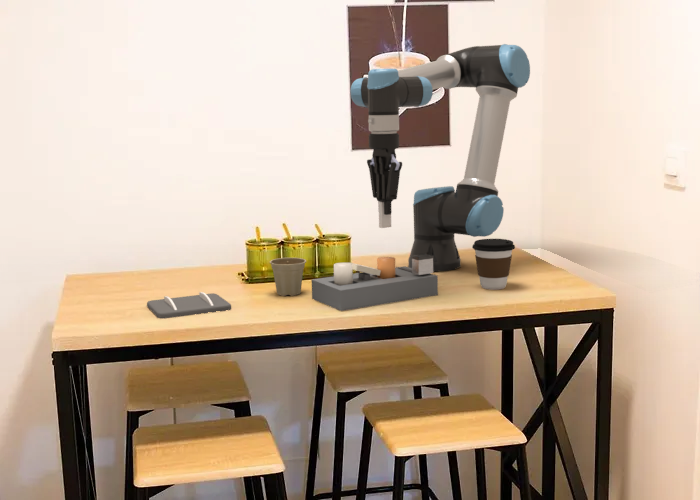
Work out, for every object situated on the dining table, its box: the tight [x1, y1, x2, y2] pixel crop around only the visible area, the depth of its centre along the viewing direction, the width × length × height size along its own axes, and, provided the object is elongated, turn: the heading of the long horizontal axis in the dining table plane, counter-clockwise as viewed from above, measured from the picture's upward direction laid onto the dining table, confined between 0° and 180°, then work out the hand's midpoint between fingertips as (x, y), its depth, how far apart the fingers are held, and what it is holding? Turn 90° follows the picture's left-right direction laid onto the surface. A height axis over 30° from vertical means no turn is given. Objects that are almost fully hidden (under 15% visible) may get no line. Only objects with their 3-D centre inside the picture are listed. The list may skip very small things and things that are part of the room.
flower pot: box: [269, 257, 307, 297], centre depth 237 cm, size 9×9×9 cm
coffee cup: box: [472, 238, 516, 291], centre depth 239 cm, size 11×11×12 cm
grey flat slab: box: [146, 291, 232, 319], centre depth 226 cm, size 18×3×15 cm
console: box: [311, 266, 439, 312], centre depth 231 cm, size 15×28×6 cm, turn 120°
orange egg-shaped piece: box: [376, 256, 396, 279], centre depth 232 cm, size 5×5×6 cm
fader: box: [411, 254, 434, 275], centre depth 232 cm, size 3×5×4 cm
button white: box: [333, 262, 354, 286], centre depth 226 cm, size 5×5×6 cm
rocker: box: [348, 262, 381, 276], centre depth 229 cm, size 4×7×1 cm, turn 120°
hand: (385, 227), depth 230 cm, fingers closed
